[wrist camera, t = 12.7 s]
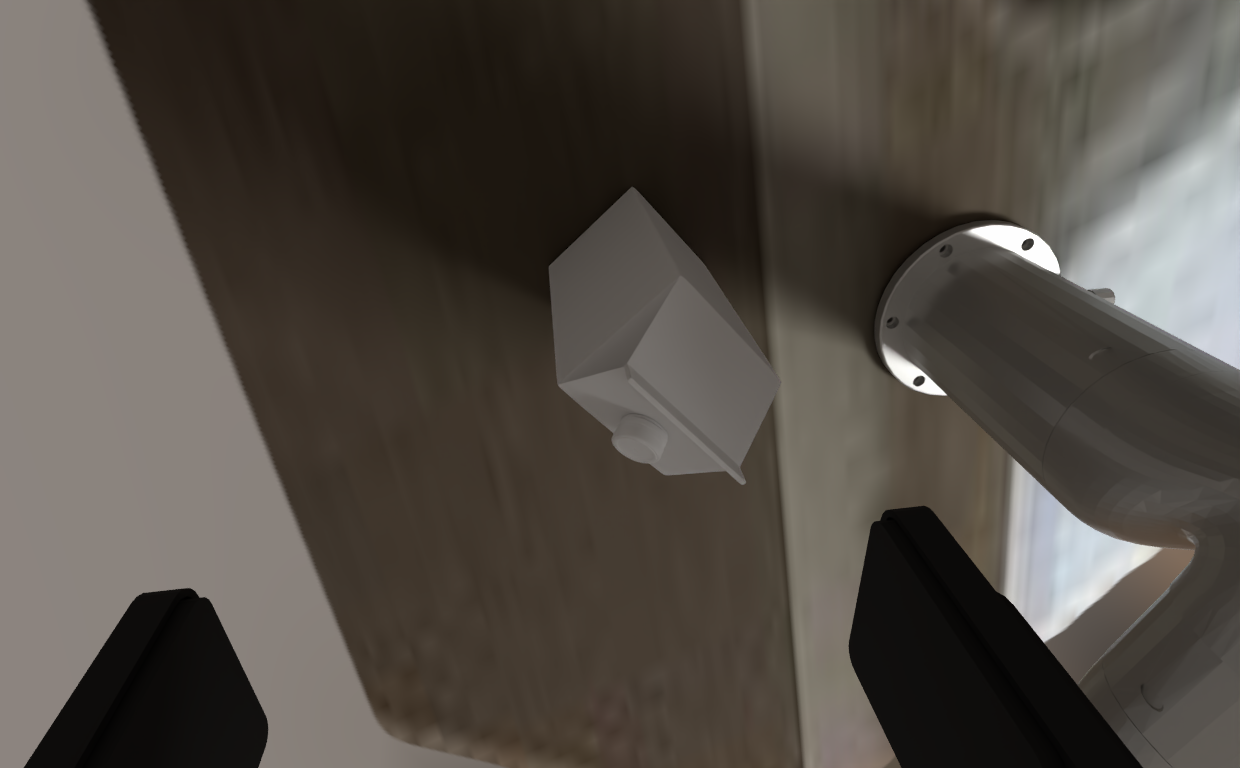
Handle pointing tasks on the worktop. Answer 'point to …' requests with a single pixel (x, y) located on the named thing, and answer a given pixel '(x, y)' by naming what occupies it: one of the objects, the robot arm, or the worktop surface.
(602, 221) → the milk carton
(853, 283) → the worktop surface
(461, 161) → the worktop surface
